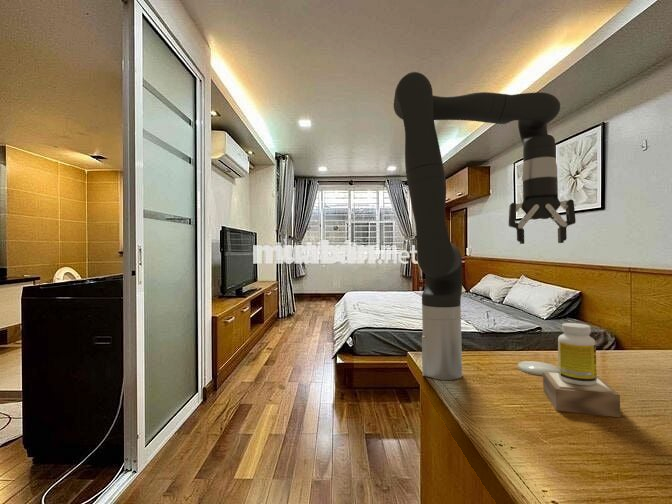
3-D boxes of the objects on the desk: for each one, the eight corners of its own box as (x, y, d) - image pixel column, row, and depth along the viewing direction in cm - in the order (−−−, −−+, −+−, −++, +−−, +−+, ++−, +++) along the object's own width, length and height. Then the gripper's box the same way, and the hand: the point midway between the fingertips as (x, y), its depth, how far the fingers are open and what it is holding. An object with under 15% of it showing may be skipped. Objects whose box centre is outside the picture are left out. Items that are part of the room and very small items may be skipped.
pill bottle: (603, 387, 65) (602, 328, 65) (567, 385, 66) (565, 327, 67) (587, 376, 71) (585, 322, 71) (553, 374, 73) (552, 321, 73)
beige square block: (556, 410, 66) (555, 387, 66) (543, 390, 75) (542, 370, 75) (620, 417, 62) (619, 393, 63) (598, 395, 72) (597, 375, 72)
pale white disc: (521, 373, 86) (521, 370, 86) (515, 362, 94) (515, 360, 94) (563, 377, 83) (563, 373, 83) (553, 365, 92) (553, 362, 92)
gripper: (510, 178, 86) (512, 243, 86) (578, 172, 81) (579, 242, 81) (506, 183, 93) (507, 244, 93) (568, 179, 88) (569, 243, 88)
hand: (541, 243), depth 87 cm, fingers open, 8 cm apart
